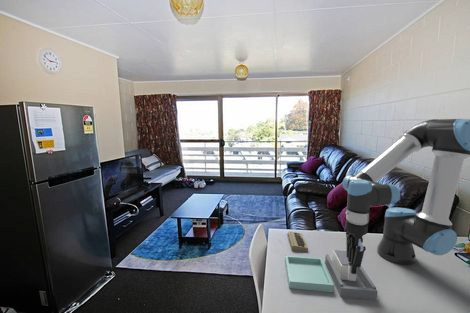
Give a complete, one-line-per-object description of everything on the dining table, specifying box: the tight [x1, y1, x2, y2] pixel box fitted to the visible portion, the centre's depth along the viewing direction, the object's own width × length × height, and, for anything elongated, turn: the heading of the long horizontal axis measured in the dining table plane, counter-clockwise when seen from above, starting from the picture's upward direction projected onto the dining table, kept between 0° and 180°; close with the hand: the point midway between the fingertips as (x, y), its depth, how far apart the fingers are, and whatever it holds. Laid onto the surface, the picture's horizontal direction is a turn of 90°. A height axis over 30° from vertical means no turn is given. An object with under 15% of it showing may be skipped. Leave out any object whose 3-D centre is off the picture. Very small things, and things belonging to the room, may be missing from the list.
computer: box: [287, 231, 309, 252], centre depth 125 cm, size 16×8×3 cm, turn 175°
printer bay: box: [324, 254, 378, 301], centre depth 96 cm, size 12×21×4 cm, turn 174°
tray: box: [284, 255, 335, 293], centre depth 99 cm, size 16×18×3 cm
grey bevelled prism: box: [331, 249, 349, 281], centre depth 102 cm, size 6×12×6 cm, turn 173°
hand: (351, 279), depth 93 cm, fingers closed
